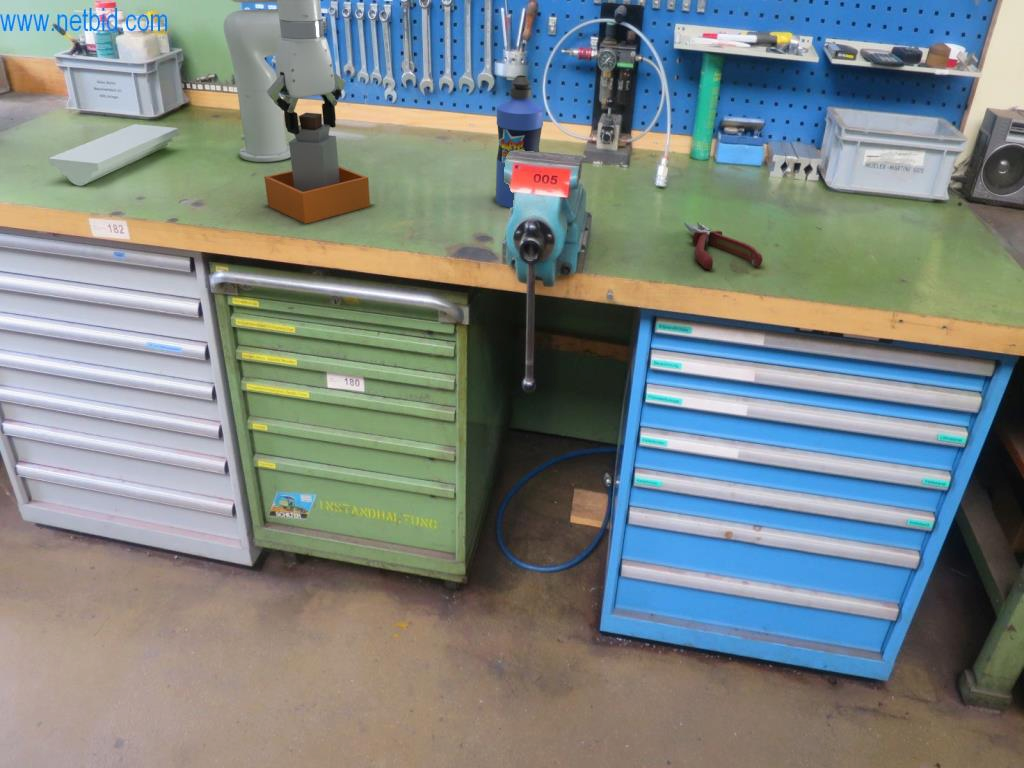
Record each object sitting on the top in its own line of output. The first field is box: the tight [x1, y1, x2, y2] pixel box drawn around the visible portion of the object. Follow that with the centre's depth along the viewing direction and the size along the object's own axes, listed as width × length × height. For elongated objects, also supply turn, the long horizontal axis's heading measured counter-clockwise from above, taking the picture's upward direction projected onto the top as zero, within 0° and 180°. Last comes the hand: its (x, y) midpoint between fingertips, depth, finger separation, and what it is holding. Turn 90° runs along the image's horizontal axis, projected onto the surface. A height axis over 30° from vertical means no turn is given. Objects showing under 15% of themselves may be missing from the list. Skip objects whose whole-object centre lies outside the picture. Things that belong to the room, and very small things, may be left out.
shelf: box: [48, 123, 180, 187], centre depth 177 cm, size 12×30×5 cm, turn 169°
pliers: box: [683, 221, 764, 270], centre depth 147 cm, size 12×20×3 cm, turn 12°
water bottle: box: [495, 74, 545, 209], centre depth 160 cm, size 9×9×25 cm
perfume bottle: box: [288, 112, 340, 192], centre depth 156 cm, size 7×7×18 cm
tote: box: [263, 165, 371, 225], centre depth 159 cm, size 13×15×6 cm
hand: (311, 128), depth 152 cm, fingers closed on perfume bottle, 7 cm apart
